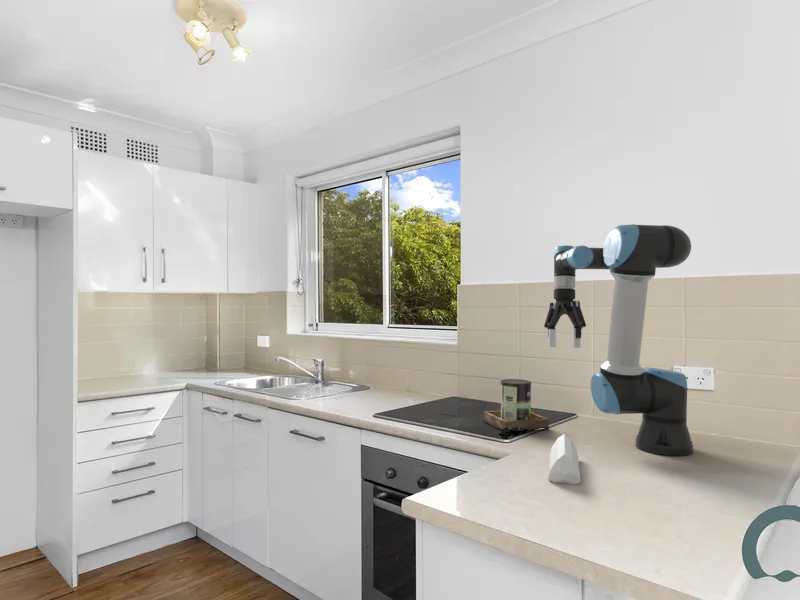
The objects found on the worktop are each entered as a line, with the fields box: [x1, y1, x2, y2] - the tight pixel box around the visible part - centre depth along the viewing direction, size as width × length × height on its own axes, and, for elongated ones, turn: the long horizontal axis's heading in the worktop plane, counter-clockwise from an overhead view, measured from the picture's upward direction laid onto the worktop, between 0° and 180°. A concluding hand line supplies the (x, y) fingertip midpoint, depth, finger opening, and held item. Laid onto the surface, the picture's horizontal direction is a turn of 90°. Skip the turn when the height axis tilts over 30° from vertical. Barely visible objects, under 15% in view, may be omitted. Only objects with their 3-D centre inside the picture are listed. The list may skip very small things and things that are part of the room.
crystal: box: [547, 433, 582, 485], centre depth 138 cm, size 7×7×24 cm
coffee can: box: [500, 378, 532, 421], centre depth 186 cm, size 10×10×14 cm
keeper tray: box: [482, 410, 550, 431], centre depth 186 cm, size 16×16×4 cm
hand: (563, 347), depth 196 cm, fingers open, 13 cm apart
